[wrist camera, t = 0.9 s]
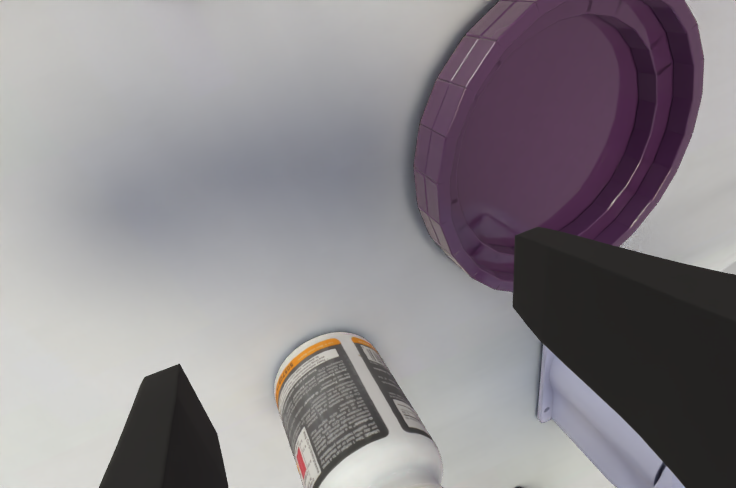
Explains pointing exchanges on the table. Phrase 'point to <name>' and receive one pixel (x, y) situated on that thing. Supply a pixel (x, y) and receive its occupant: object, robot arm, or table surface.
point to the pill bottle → (352, 419)
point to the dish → (556, 125)
